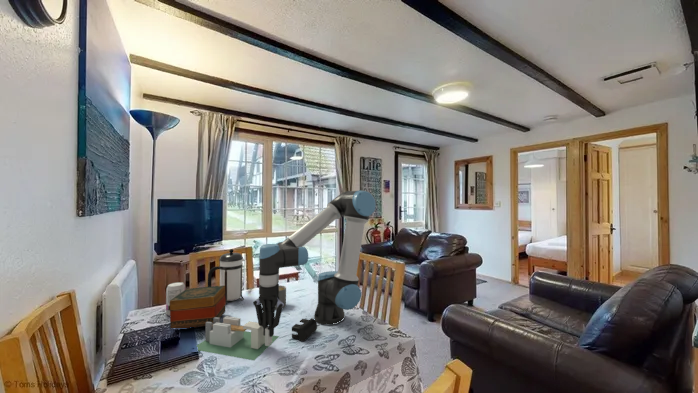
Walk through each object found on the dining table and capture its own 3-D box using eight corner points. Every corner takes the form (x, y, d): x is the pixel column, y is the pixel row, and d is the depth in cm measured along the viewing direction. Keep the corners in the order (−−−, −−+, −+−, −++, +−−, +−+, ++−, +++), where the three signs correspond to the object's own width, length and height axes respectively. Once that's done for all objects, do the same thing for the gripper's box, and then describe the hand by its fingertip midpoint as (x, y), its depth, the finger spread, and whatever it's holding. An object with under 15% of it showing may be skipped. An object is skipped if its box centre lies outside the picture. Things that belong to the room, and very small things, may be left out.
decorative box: (212, 335, 122) (217, 297, 123) (160, 332, 120) (165, 294, 121) (229, 318, 142) (232, 285, 143) (185, 315, 140) (189, 282, 142)
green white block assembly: (279, 339, 117) (279, 317, 117) (254, 363, 100) (254, 338, 100) (223, 330, 124) (223, 310, 125) (191, 352, 107) (191, 328, 107)
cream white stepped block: (264, 342, 112) (265, 322, 112) (257, 349, 107) (257, 328, 107) (249, 340, 113) (250, 320, 114) (242, 346, 109) (242, 326, 109)
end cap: (305, 345, 112) (305, 329, 112) (291, 342, 115) (291, 325, 115) (317, 334, 122) (317, 319, 122) (303, 331, 124) (303, 316, 124)
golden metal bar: (247, 329, 112) (247, 325, 112) (243, 332, 110) (243, 328, 110) (213, 325, 117) (213, 321, 117) (209, 327, 114) (209, 324, 114)
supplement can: (162, 315, 140) (162, 285, 141) (177, 309, 148) (177, 281, 148) (173, 317, 137) (173, 287, 137) (188, 311, 145) (188, 283, 145)
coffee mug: (289, 304, 155) (289, 286, 155) (278, 311, 146) (278, 292, 146) (270, 300, 161) (270, 283, 161) (258, 306, 152) (258, 288, 152)
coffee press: (224, 295, 170) (225, 246, 170) (249, 296, 168) (249, 247, 168) (206, 305, 153) (207, 251, 153) (233, 307, 150) (233, 252, 151)
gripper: (288, 282, 110) (288, 341, 110) (259, 280, 114) (259, 337, 114) (279, 288, 103) (278, 351, 103) (248, 285, 106) (248, 346, 106)
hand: (268, 343), depth 108 cm, fingers closed
